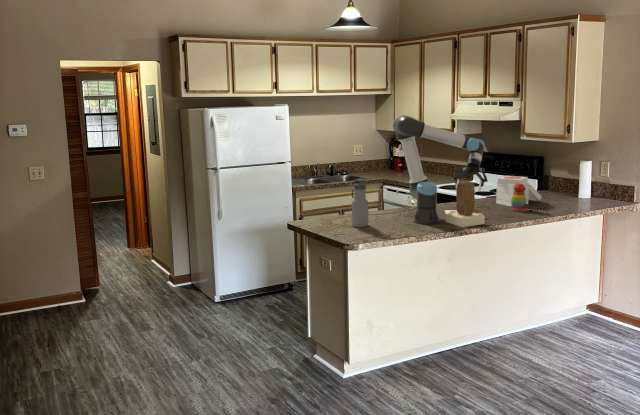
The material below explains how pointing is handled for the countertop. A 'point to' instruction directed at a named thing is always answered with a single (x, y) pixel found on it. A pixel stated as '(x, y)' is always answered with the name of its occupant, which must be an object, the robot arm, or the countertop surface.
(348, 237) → the countertop surface
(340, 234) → the countertop surface
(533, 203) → the countertop surface
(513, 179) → the white storage box
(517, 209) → the stacking bear
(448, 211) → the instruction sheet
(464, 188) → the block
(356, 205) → the water bottle
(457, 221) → the cream knobbed square piece
